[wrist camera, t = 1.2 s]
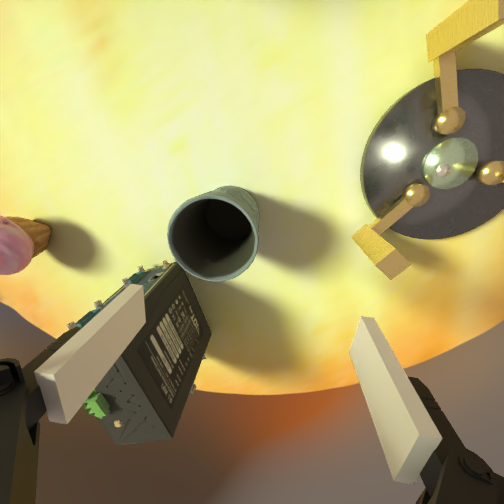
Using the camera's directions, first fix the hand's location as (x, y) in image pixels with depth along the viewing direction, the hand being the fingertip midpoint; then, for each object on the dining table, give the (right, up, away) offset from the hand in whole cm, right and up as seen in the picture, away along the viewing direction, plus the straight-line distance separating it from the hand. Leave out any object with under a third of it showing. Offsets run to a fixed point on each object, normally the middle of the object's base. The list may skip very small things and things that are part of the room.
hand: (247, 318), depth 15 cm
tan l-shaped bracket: (+22, +23, +13) cm, 35 cm away
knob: (+19, +9, +19) cm, 28 cm away
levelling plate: (+25, +16, +18) cm, 34 cm away
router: (-13, -5, +30) cm, 33 cm away
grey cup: (-3, +10, +23) cm, 25 cm away
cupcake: (-36, +7, +28) cm, 46 cm away
